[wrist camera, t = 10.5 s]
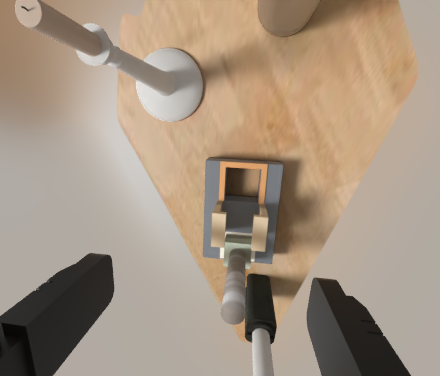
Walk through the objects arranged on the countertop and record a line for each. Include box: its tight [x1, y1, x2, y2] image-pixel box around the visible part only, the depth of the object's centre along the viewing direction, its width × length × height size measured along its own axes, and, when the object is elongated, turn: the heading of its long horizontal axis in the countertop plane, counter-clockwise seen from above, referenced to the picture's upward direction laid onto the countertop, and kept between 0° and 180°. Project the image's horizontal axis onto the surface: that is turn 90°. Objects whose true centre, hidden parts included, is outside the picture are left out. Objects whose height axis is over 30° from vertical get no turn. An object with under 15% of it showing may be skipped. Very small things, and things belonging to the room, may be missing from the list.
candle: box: [245, 274, 277, 376], centre depth 40 cm, size 5×5×25 cm
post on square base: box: [221, 234, 252, 325], centre depth 37 cm, size 5×5×18 cm
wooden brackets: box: [211, 200, 268, 252], centre depth 41 cm, size 6×9×7 cm, turn 87°
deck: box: [203, 158, 283, 264], centre depth 46 cm, size 20×14×4 cm
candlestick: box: [15, 0, 203, 122], centre depth 29 cm, size 13×13×30 cm
